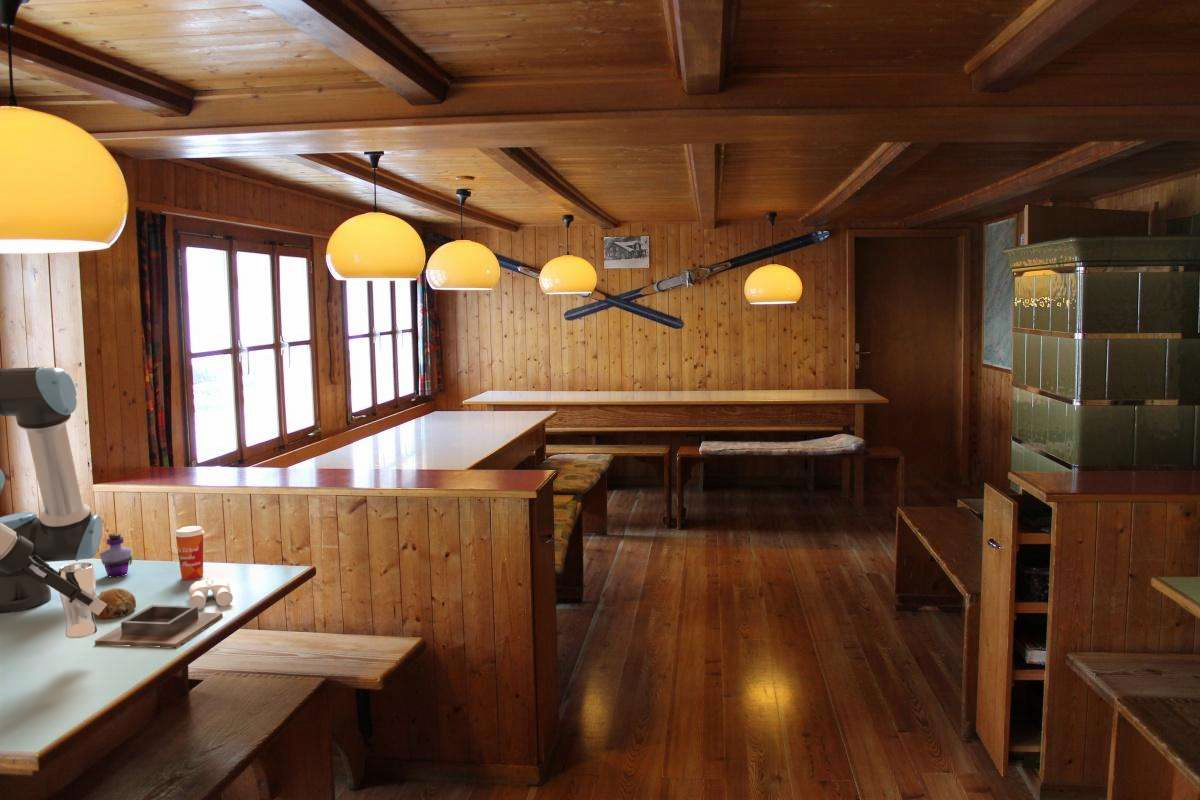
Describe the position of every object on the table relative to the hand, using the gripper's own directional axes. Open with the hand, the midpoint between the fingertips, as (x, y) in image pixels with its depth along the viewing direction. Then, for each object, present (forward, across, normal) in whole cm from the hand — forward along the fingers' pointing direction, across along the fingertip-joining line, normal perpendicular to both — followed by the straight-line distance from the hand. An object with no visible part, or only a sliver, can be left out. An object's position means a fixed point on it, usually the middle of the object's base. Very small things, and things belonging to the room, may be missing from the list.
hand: (97, 605), depth 204 cm
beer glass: (+2, 0, -6) cm, 7 cm away
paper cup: (+34, -46, +16) cm, 59 cm away
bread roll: (+17, -29, -2) cm, 34 cm away
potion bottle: (+24, -63, +5) cm, 68 cm away
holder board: (+19, -8, +2) cm, 21 cm away
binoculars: (+32, -23, +14) cm, 42 cm away
